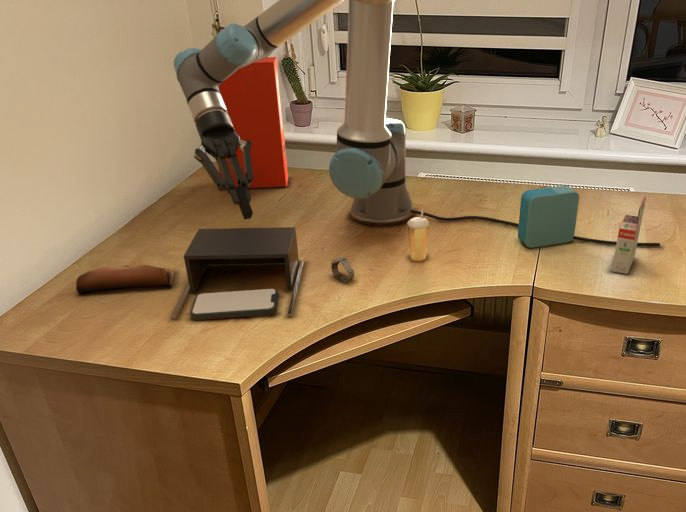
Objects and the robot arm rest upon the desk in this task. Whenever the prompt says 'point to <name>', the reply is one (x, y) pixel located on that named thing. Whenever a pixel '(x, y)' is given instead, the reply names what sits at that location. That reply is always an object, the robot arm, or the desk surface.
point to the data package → (548, 216)
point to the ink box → (627, 241)
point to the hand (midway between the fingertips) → (248, 216)
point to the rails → (290, 303)
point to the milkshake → (418, 237)
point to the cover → (241, 250)
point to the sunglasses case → (124, 277)
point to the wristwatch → (346, 265)
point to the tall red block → (258, 121)
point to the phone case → (234, 304)
